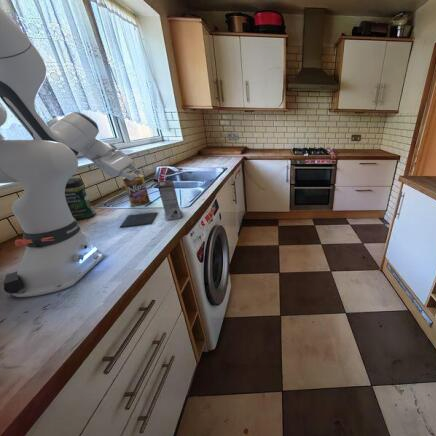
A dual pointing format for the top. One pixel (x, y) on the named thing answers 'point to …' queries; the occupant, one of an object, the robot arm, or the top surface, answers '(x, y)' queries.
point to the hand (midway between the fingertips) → (136, 175)
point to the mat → (139, 219)
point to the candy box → (136, 190)
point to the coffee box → (169, 199)
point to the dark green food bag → (78, 199)
